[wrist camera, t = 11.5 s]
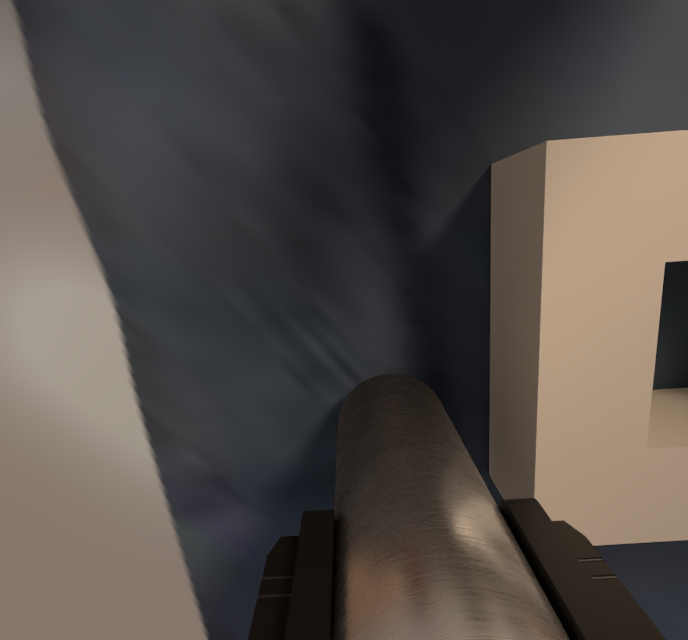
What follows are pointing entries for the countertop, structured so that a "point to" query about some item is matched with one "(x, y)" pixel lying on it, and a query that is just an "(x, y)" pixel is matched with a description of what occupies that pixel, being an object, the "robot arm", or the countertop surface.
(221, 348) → the countertop surface
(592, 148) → the socket block
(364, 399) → the plug
